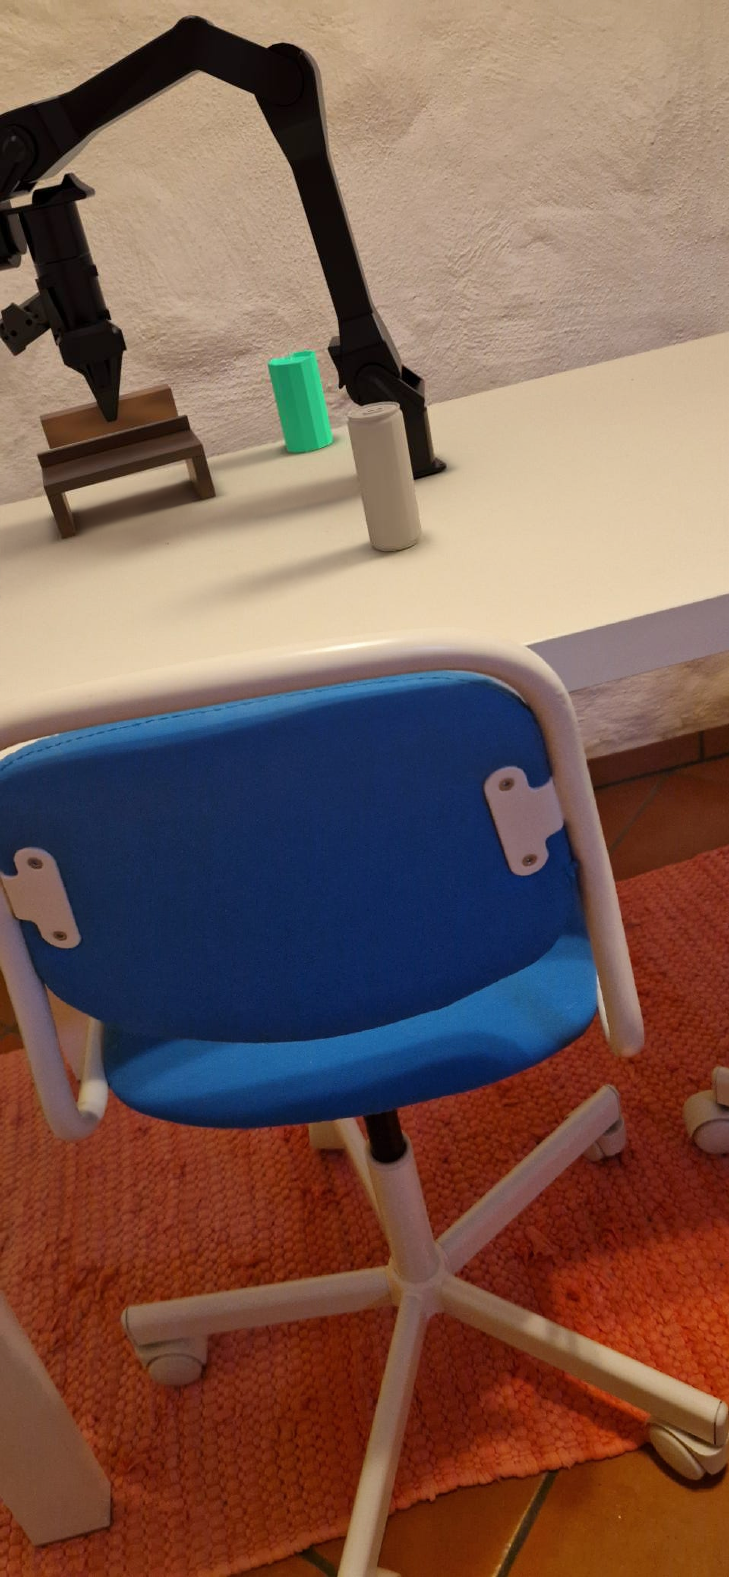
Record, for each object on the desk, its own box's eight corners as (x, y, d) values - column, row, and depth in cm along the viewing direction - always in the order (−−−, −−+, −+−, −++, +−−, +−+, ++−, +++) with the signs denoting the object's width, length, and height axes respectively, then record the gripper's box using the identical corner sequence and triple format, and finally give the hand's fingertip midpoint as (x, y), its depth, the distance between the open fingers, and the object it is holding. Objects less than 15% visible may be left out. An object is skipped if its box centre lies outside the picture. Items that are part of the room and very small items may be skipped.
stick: (174, 411, 116) (167, 383, 115) (178, 416, 114) (170, 387, 112) (48, 444, 114) (39, 416, 112) (50, 449, 111) (40, 421, 110)
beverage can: (368, 540, 99) (343, 409, 93) (419, 529, 99) (397, 397, 93) (373, 557, 95) (347, 422, 89) (426, 546, 95) (404, 409, 89)
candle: (335, 434, 134) (315, 334, 128) (330, 447, 129) (309, 344, 123) (290, 442, 135) (267, 343, 129) (282, 455, 131) (259, 354, 124)
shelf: (216, 496, 121) (198, 430, 117) (61, 538, 119) (38, 472, 115) (203, 476, 130) (186, 414, 126) (58, 515, 127) (36, 453, 123)
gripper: (-19, 271, 111) (33, 421, 120) (-20, 284, 96) (39, 456, 104) (85, 247, 113) (129, 397, 121) (101, 256, 98) (149, 427, 106)
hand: (110, 418), depth 113 cm, fingers closed on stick, 3 cm apart
